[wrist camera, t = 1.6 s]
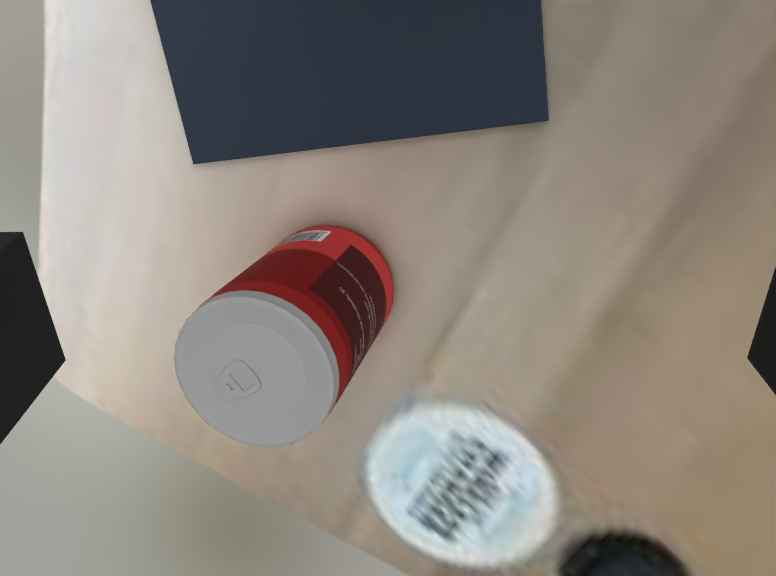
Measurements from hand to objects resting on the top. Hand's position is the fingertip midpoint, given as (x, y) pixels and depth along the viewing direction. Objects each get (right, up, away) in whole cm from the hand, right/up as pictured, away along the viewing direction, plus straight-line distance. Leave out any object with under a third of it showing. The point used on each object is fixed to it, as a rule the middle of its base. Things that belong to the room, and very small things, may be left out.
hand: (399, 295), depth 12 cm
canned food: (-3, 0, +27) cm, 27 cm away
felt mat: (-3, +14, +21) cm, 25 cm away
